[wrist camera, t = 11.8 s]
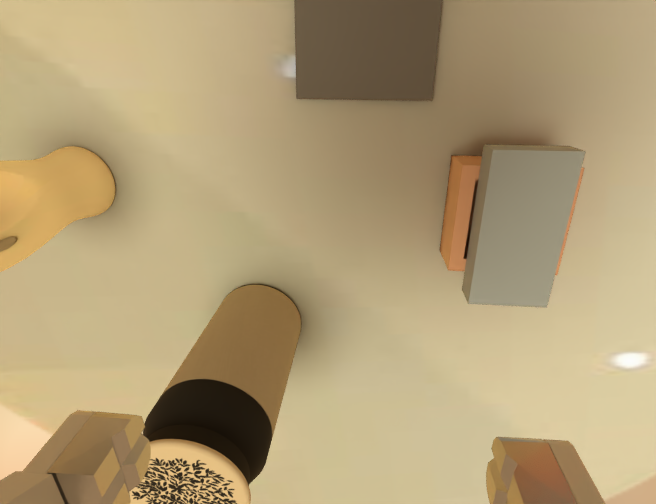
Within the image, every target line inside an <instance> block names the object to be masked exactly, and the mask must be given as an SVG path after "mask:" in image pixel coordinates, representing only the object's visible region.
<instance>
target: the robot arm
mask: <svg viewBox="0 0 656 504" xmlns="http://www.w3.org/2000/svg"><path fill="white" fill-rule="evenodd" d="M144 427H145V425H144V422H143V419H142V416H138V415H129V414H118V413H107V412H93V411H80V410H77V411H76V412H74V413H72V414H71V415H70V416H69V417H68V418H67V419H66V420H65V421H64V423H63V424H62V425H61V426H60V427H59V428H58V430H57V431H56V432H55V433H54V434H53V436H52V437H51V438H50V439H49V440H48V442H47V443H46V444H45V445H44V446H43V447H42V449H41V450H40V451H39V452H38V453H37V455H36V456H35V457H34V458H33V459H32V461H31V462H30V463H29V464H28V465H27V467H26V468H25V469H24V470H23V471H22V472H18V471H16V472H14V473H12V474H11V475H9V476H7V477H5V478H4V479H2V480H0V504H130V502H131V500H130V493H129V492H130V491H131V490H132V489H134V488H135V487H136V486H137V485H139V484H140V483H141V482H142V480H143V478H144V476H145V474H146V472H147V469H148V465H149V461H150V458H151V447H150V443H149V440H148V439H147V438H146V437H145V436H144V435H143V434H142V433H141V432H142V431H143V429H144ZM491 449H492V452H493V455H494V459H492V460H491V461H490V462H488V466H487V472H486V487H487V492H488V498H489V502H490V504H605V502H604V500H603V499H602V497H601V495H600V493H599V491H598V489H597V488H596V486H595V484H594V482H593V480H592V479H591V477H590V475H589V473H588V471H587V470H586V468H585V466H584V464H583V462H582V461H581V459H580V457H579V455H578V453H577V451H576V450H575V448H574V446H573V445H572V444H571V443H570V442H569V441H562V440H545V439H544V440H542V439H532V438H511V437H496V438H495V439H494V440H493V444H492V448H491Z"/></svg>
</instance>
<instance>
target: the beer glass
mask: <svg viewBox="0 0 656 504" xmlns="http://www.w3.org/2000/svg"><path fill="white" fill-rule="evenodd" d="M114 197H115V182H114V178H113V175H112V173H111V171H110V169H109V168H108V166H107V165H106V164H105V162H104V161H103V160H102V159H101V158H100V157H98V156H97V155H96V154H94V153H93V152H91V151H89V150H87V149H85V148H81V147H76V146H67V147H63V148H60V149H57V150H55V151H53V152H51V153H50V154H48V155H46V156H44V157H42V158H39V159H34V160H8V161H0V272H2V271H4V270H6V269H8V268H10V267H12V266H14V265H15V264H17V263H19V262H20V261H22V260H24V259H26V258H27V257H29V256H30V255H31V254H33V253H34V252H35V251H37V250H38V249H40V248H41V247H42V246H43V245H45V244H46V243H47V242H48V241H49V240H51V239H52V238H53V237H54V236H55V235H56V234H58V233H59V232H60V231H61V230H62V229H64V228H65V227H66V226H67V225H69V224H70V223H72V222H74V221H76V220H79V219H83V218H88V217H93V216H96V215H99V214H101V213H103V212H105V211H106V210H107V209H108V208H109V207H110V206H111V204H112V203H113V200H114Z"/></svg>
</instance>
